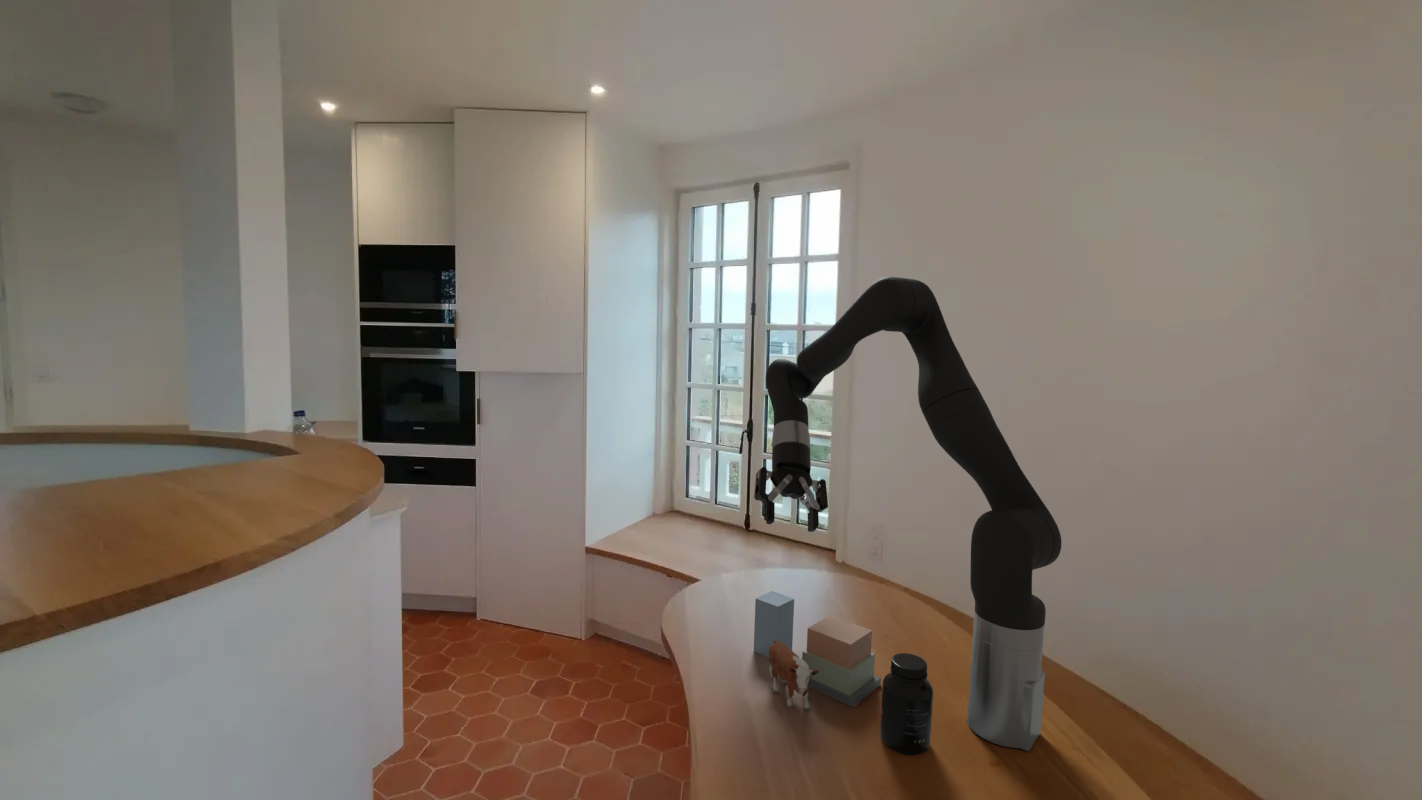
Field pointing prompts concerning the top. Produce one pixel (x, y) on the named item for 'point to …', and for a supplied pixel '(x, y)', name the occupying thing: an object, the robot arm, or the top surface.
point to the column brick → (773, 621)
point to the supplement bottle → (906, 706)
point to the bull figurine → (790, 672)
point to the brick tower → (841, 660)
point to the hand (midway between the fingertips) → (791, 527)
